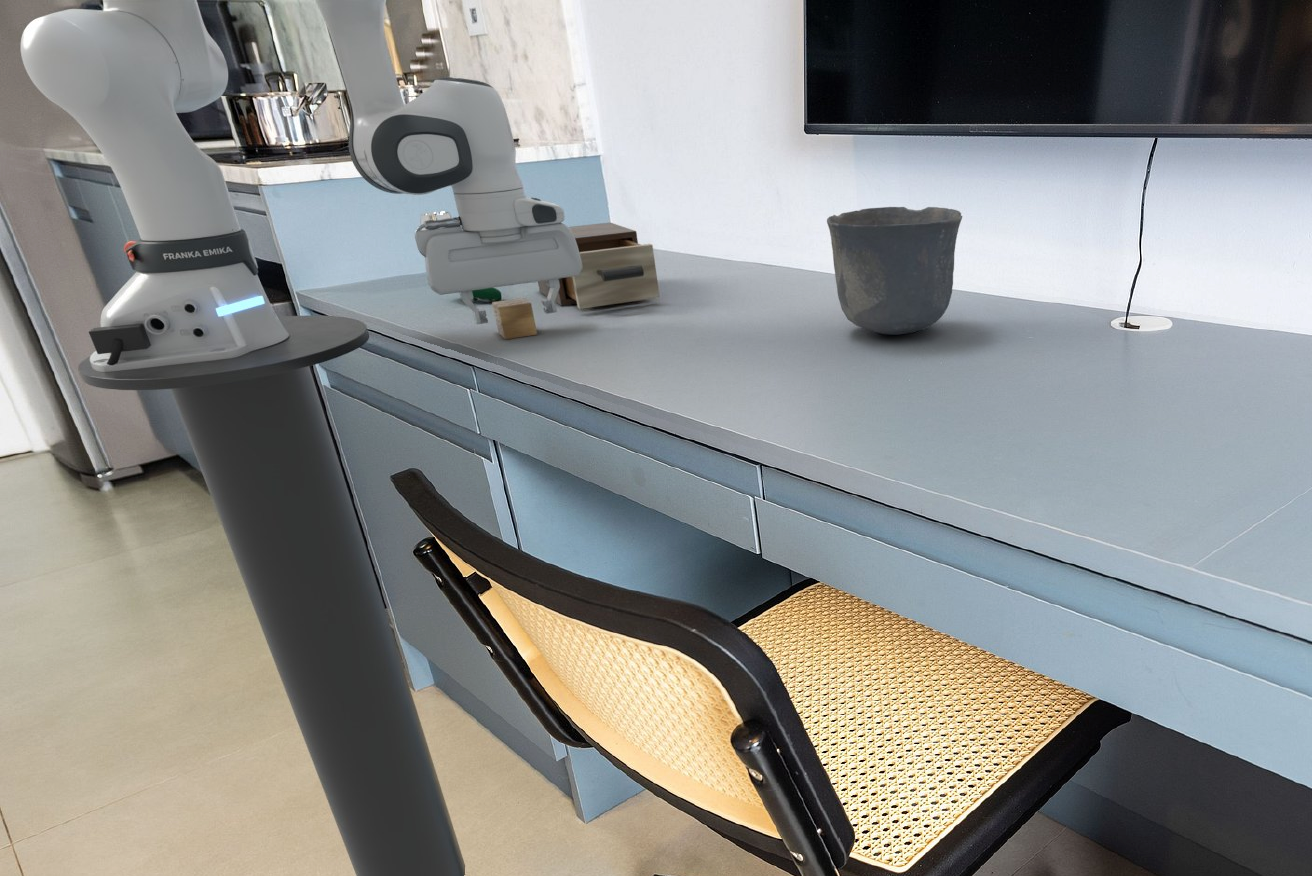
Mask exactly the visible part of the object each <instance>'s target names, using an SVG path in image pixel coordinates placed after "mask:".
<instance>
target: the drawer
mask: <svg viewBox="0 0 1312 876" xmlns="http://www.w3.org/2000/svg"><path fill="white" fill-rule="evenodd" d="M577 246H578V249H579V253H580V257H581V261H582V270H581V272H580V274H579V275H578V276H573V277H566V278H562V281H563V286H564V292H565V294H566V295H567V296H569V297H571V298H573V299H574V300H576V301H577V304H576V305H577V308H578V309H579V310H581V309H582V310H583V309H590V308H595V307H604V306H610V305H617V304H624V303H630V302H638V301H644V300H652V299H658V298H660V297H661V295H660V289H659V282H658V275H657V268H656V267H657V266H656V260H655V253H654V247H653V244H652V243H643V244H640V243H639V242H638V243H635V242H633V241H630V240H627V239H616V240H607V241H599V242H590V243H582V244H577Z"/></svg>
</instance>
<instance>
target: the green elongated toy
mask: <svg viewBox="0 0 1312 876" xmlns="http://www.w3.org/2000/svg"><path fill="white" fill-rule="evenodd" d="M472 293H473V299H469V300H470V301H471V302H472V303H475V302H477V301H478V300H479V301H486V302H487V301H489V302H498V301H502V292H501V291H500V290H499V289H497V288H496V287H494V288H487V289H480V290H473V291H472ZM457 294H460V293H459V292H458V293H457Z"/></svg>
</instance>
